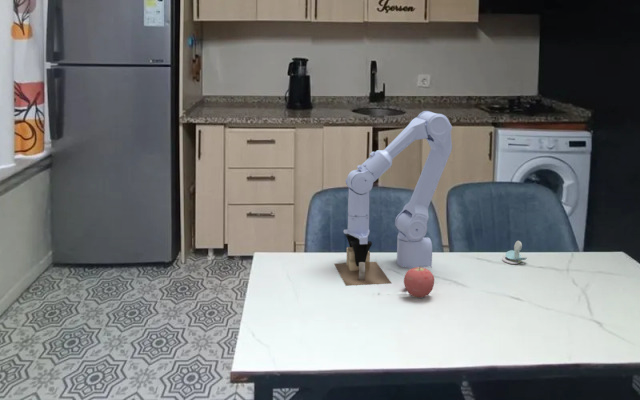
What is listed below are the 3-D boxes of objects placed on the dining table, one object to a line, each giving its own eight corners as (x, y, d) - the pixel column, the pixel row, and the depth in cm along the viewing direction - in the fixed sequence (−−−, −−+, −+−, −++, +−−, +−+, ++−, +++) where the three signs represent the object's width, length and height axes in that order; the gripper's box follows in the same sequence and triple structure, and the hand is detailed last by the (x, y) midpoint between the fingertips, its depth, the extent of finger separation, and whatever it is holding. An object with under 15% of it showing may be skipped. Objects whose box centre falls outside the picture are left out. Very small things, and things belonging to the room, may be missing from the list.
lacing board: (375, 266, 191) (376, 246, 190) (391, 288, 174) (392, 266, 172) (334, 268, 189) (334, 248, 188) (345, 291, 172) (345, 268, 171)
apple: (410, 289, 173) (411, 259, 172) (437, 294, 170) (439, 264, 168) (398, 298, 167) (399, 267, 165) (426, 303, 163) (427, 272, 162)
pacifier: (509, 266, 192) (528, 264, 193) (510, 245, 190) (529, 244, 191) (498, 259, 199) (517, 257, 200) (498, 238, 197) (517, 237, 198)
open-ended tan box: (365, 263, 189) (365, 246, 188) (369, 269, 184) (369, 252, 183) (346, 264, 188) (346, 247, 187) (350, 270, 183) (350, 253, 182)
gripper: (339, 208, 189) (339, 255, 192) (349, 221, 175) (348, 271, 178) (364, 207, 190) (363, 253, 193) (375, 220, 176) (374, 270, 179)
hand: (358, 262), depth 186 cm, fingers open, 6 cm apart
